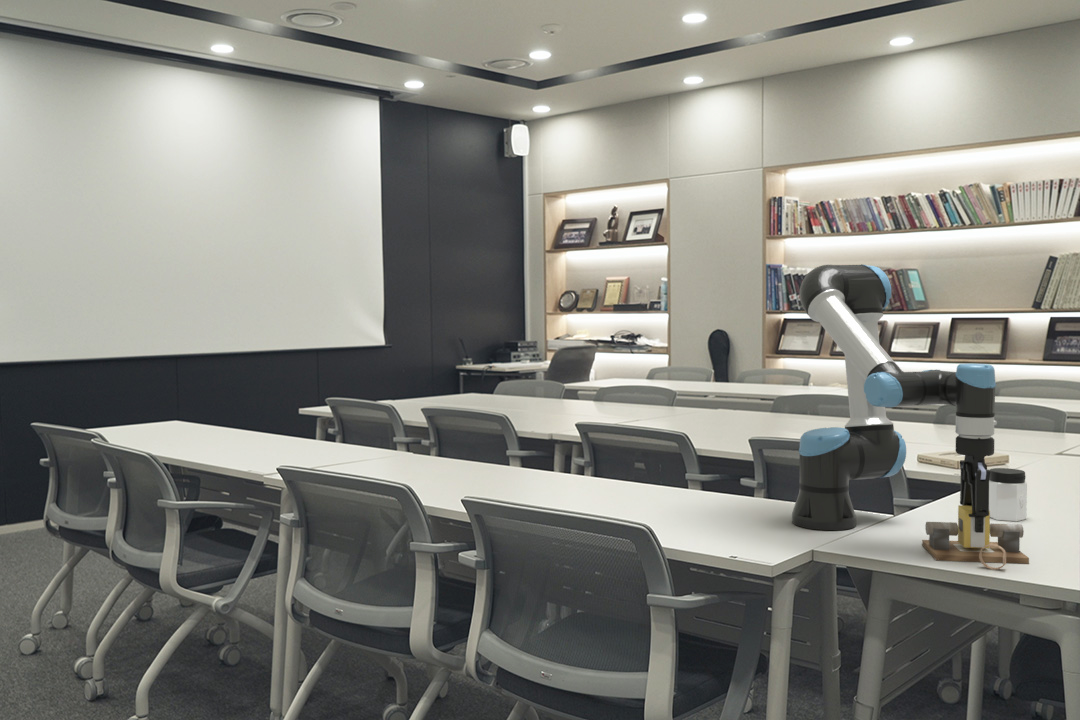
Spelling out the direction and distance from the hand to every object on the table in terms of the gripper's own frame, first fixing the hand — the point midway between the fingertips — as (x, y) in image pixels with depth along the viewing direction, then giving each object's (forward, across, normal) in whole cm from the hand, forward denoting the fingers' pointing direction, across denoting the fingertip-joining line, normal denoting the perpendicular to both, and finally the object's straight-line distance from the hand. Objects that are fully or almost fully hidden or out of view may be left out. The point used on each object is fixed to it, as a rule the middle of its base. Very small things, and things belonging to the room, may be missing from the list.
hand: (973, 543), depth 198 cm
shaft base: (+2, 0, 0) cm, 2 cm away
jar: (+3, +38, -18) cm, 42 cm away
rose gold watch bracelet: (+3, -11, 0) cm, 12 cm away
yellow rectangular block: (0, 0, 0) cm, 0 cm away
